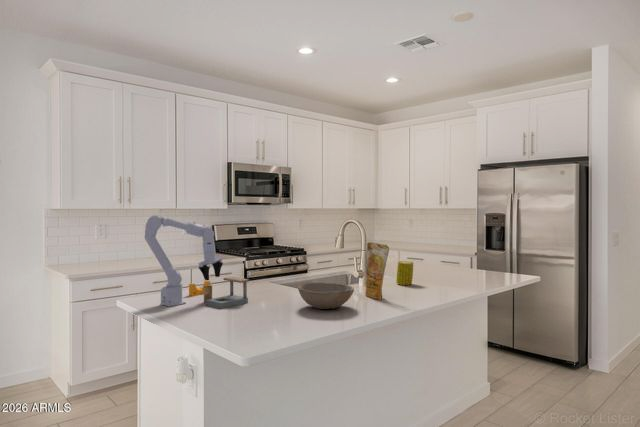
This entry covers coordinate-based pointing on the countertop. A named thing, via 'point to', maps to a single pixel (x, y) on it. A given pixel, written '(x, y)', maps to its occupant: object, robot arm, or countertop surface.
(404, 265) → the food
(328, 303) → the bowl
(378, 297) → the pancake mix bag
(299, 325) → the countertop surface
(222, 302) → the socket plate
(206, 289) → the peg
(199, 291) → the pipe clamp
